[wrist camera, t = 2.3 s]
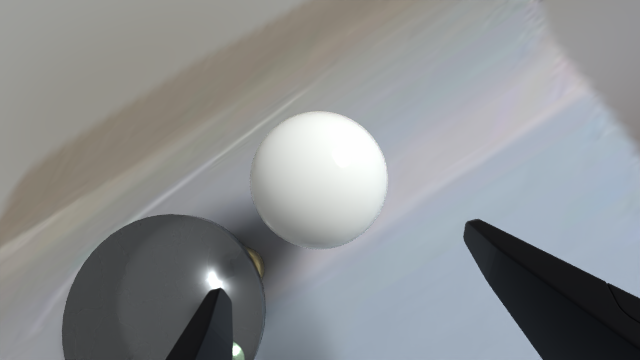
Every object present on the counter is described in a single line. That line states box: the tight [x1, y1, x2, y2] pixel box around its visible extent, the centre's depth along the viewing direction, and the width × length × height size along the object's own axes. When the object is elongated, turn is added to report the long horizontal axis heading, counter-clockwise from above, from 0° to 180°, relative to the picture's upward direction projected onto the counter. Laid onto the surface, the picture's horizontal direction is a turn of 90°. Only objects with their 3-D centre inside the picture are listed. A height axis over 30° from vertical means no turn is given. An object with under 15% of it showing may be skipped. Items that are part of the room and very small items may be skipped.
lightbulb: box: [250, 111, 388, 249], centre depth 15 cm, size 6×6×11 cm
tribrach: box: [62, 214, 266, 360], centre depth 18 cm, size 13×13×3 cm
